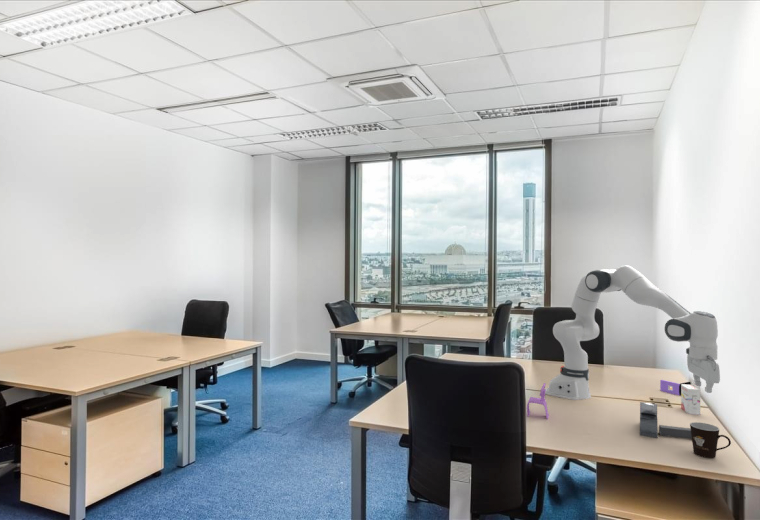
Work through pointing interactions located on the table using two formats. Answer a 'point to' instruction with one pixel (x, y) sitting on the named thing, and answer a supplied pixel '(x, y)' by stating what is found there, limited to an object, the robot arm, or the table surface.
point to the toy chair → (539, 401)
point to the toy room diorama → (675, 387)
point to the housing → (648, 420)
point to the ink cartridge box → (690, 398)
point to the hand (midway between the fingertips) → (702, 388)
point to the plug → (675, 431)
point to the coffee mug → (705, 439)
